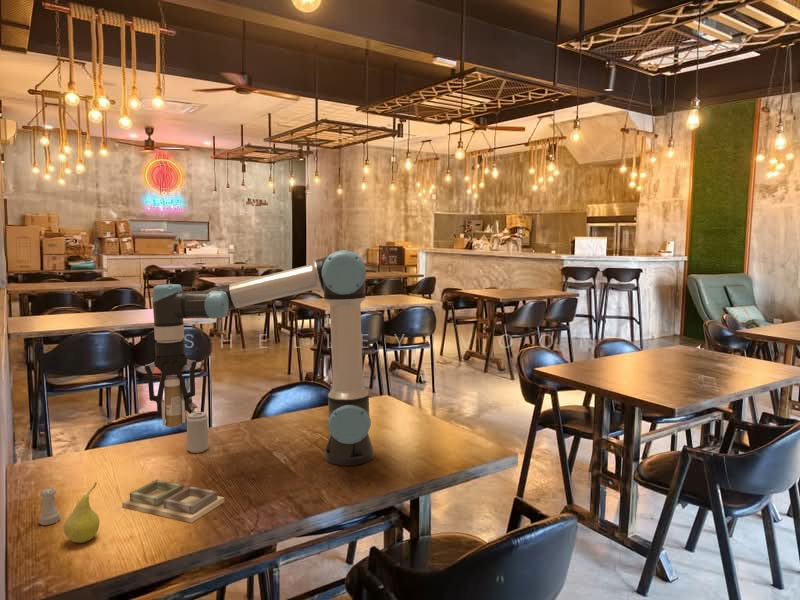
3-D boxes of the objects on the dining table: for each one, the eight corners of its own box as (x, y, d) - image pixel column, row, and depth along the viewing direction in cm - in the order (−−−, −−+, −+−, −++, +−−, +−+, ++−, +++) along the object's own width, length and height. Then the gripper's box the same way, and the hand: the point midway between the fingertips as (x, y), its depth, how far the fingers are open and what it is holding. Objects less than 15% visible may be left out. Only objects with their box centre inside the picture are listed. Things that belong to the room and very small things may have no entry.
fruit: (58, 544, 124) (55, 492, 123) (87, 529, 131) (85, 479, 130) (80, 550, 122) (77, 497, 121) (109, 534, 129) (107, 483, 128)
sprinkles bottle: (162, 425, 158) (160, 378, 156) (179, 421, 161) (176, 375, 159) (169, 428, 154) (166, 380, 153) (185, 425, 157) (183, 378, 156)
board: (224, 501, 145) (224, 489, 145) (191, 522, 134) (191, 509, 134) (158, 488, 153) (158, 476, 153) (122, 507, 142) (121, 494, 142)
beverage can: (211, 447, 185) (210, 411, 184) (203, 454, 178) (202, 417, 177) (193, 446, 185) (192, 410, 184) (183, 453, 179) (182, 416, 178)
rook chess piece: (45, 517, 137) (43, 485, 136) (64, 516, 137) (62, 485, 136) (34, 526, 132) (32, 493, 131) (54, 525, 133) (52, 493, 132)
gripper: (202, 336, 162) (205, 415, 164) (135, 340, 155) (139, 423, 157) (204, 339, 155) (208, 422, 157) (134, 345, 148) (139, 431, 150)
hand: (173, 422), depth 157 cm, fingers closed on sprinkles bottle, 4 cm apart
